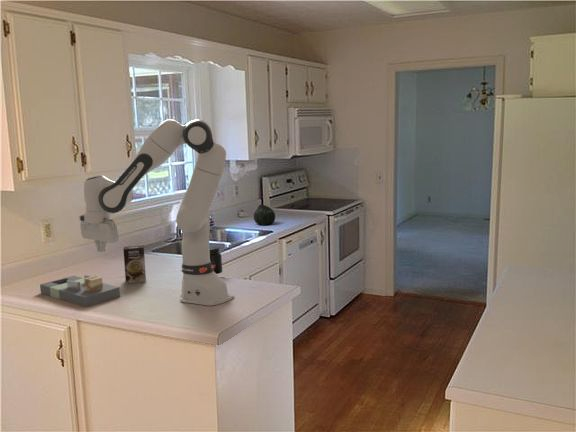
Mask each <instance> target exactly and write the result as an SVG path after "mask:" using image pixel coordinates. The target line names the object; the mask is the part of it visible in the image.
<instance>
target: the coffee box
mask: <svg viewBox="0 0 576 432" xmlns="http://www.w3.org/2000/svg"><path fill="white" fill-rule="evenodd" d="M145 258H146V257H145V246H144V244H143V245H131V246H130V245H129V246H123V260H124V261H123V262H124V263H123V264H124V277H125V284H126V285H127V284H128V283H129V284H139V283H146V282H147V273H146V272H147V271H146V261H145Z"/></svg>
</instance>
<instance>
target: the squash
mask: <svg viewBox="0 0 576 432" xmlns="http://www.w3.org/2000/svg"><path fill="white" fill-rule="evenodd" d="M253 220H254V222H255V223H256V224H258V225H259V226H266V225H272V224H274V222H275V220H276V214H275V211H274V210H273V209H272V208H271V207H269V206H267V205H264V204H259V205H258V206H257V209H256V210H255V212H254V214H253Z"/></svg>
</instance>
